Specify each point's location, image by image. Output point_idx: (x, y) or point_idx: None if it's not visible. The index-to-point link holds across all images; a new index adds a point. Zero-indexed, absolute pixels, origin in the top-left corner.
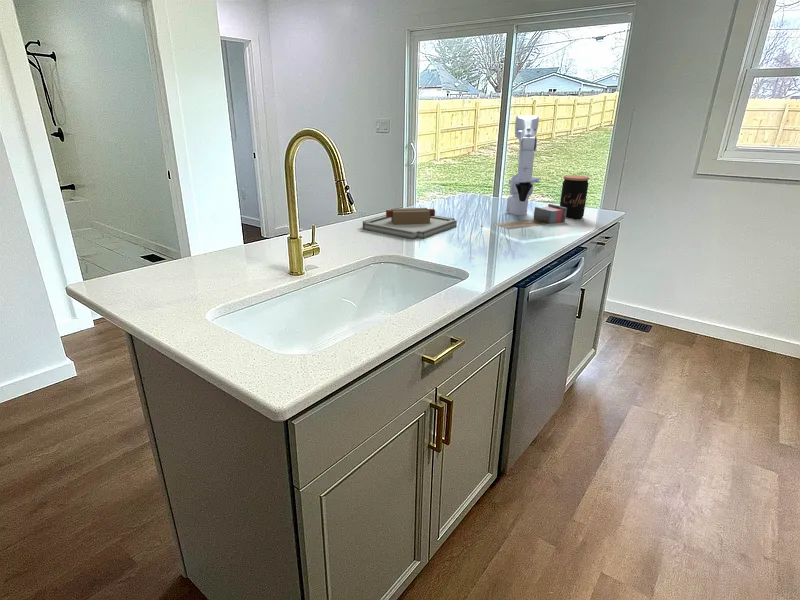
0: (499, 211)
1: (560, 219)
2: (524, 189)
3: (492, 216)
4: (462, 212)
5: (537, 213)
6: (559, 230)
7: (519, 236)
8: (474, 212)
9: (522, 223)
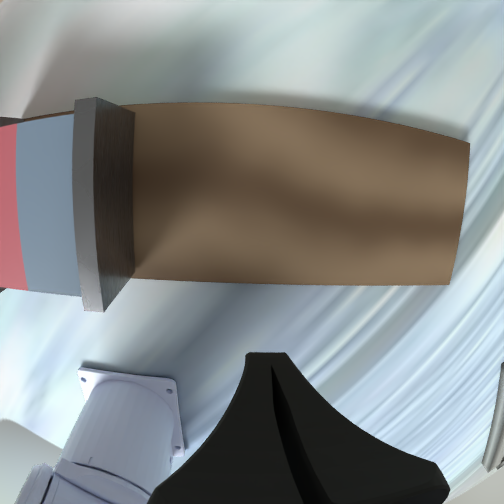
0: None
1: None
2: (358, 451)
3: None
4: None
5: (116, 251)
6: (163, 3)
7: (464, 48)
8: None
9: (300, 209)
